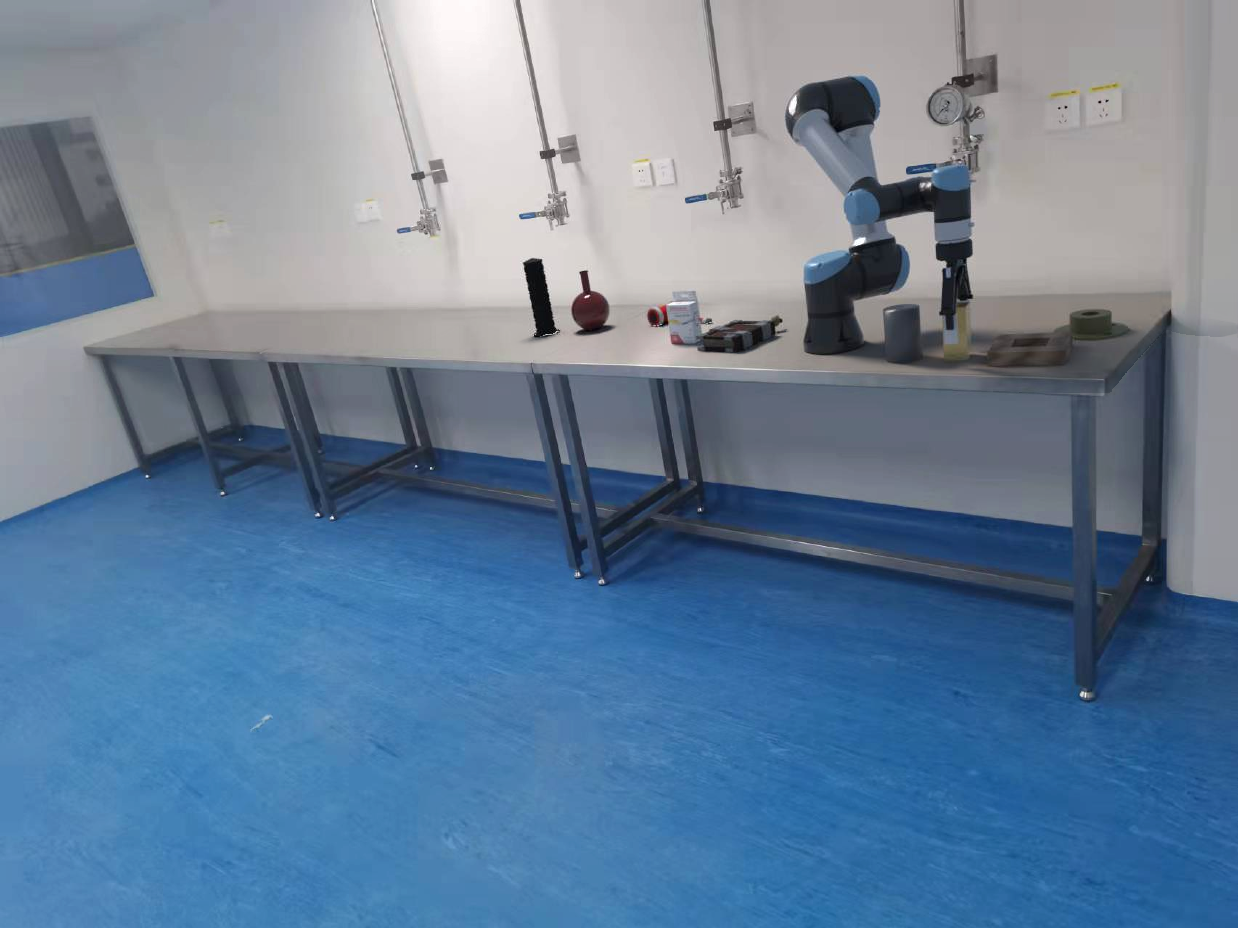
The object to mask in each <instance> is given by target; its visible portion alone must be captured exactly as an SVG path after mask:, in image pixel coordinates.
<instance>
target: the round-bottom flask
mask: <svg viewBox="0 0 1238 928" xmlns="http://www.w3.org/2000/svg"><path fill="white" fill-rule="evenodd" d="M578 274H579V275H580V280H581V287H582V292H581V293H579V294H578V295H577V296H576V297H575V298H574V300H573V301H572V303H571V309H570V311H571V316H572V317H571V318H572V320H573V321H574V323H575V324H576V325H577V326H578V327H580V328H581V329H583V330H587V331H595V330H598V329H600V328H602V327H603V326H604V325H605V324H606V323H607V321H608V320H609V318H610V313H611V309H610V303H609V301H608V300H607V298H606V296H604V294H602V293H601V292H598V291H594V290H592V289H591V283H590V279H589V270H586V269H584V270H580V271H579V272H578ZM594 329H595V330H594Z"/></svg>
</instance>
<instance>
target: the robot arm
mask: <svg viewBox="0 0 1238 928" xmlns="http://www.w3.org/2000/svg"><path fill="white" fill-rule="evenodd" d="M880 108H881V98H880V93H879V91H878V88H877V86H876V85H875V83H874V81H872V80H871V79H869V78H868V77H867V76H865V75H847V76H843V77H840V78H833V79H829V80H823V81H822V80H821V81H818V82H810V83H807V84H805V85H803V86H801V87H800V88H799V89H797V90H796V91H795V92H794V93H793V95H792V96H791V98H789V101H788V103H787V106H786V110H785V114H784V121H785V126H786V127H785V128H786V129H787V133H788V134H789V136H790V138H791V139H792V140H793V142H795V144H796V145H798V146H800V147H804V148H805V150H806V151H807V152H808V153H809V155H810V156H811V157H812V158H813V159H814V161H815V162H816V164H817V165H818V166H819V167H820V168H821V169H822V171H823V172H824V173H825V175H827V178H829V179H830V181H831V182H832V183H833V185H834V186H835V187H836V188H837V190H839V192H840V194H841V195H842V196H843V197H844V200H843V212H844V214H845V218H846V220H847V222H848V223H849V226H850V230H851V238H852V242H851V243H850V244H849V246H848V250H845V249H842V250H841V249H840V250H833V251H830V252H823V253H821V254H819V255H816V256H814V257H812V258H809V260H807V261H806V262H805V264H804V265H803V284H804V294H805V302H806V312H807V323H806V327H805V331H804V335H803V343H802V344H803V351H804V352H806V353H808V354H809V353H810V354H817V355H819V354H821V355H824V354H825V355H826V354H827V355H828V354H839V353H844V352H848V351H851V350H853V351H854V350H857V349H858V348H860V347H862V346H864V343H865V340H864V339H865V338H864V337H865V335H864V333H863V331H862V328H861V326H860V324H859V321H858V319H857V317H856V313H855V312H856V311H855V302H856V301H861V300H865V299H869V298H873V297H878V296H885V295H888V294H890V293H894V292H897V291H899V290H901V289H902V288H903V287H904V286H905V285H906V283H907V281H908V278H909V275H910V271H911V270H910V269H911V260H910V255H909V252H908V251H907V250H906V247H905V246H904V245H902V244H899V243H897V240H896V236H895V235H893V234H892V233H890V232H889V230H888V227H887V221H889V220H892V219H897V218H902V217H908V216H912V215H916V214H922V213H933V228H934V229H933V230H934V241H936V244H935V259H936V260H937V261H939V262H945V264H946V265H945V267H943V268H942V270H941V274H942V275H941V276H942V282H941V283H942V285H941V301H940V303H941V304H940V311H939V312H938V316H941V317H942V315H943V318H944V337H945V344H958V321H957V314H956V305H957V303H961V302H970V300H973V299H974V294H973V293H972V291H971V290H972V289H971V283H970V276H969V271H968V259H969V258H971V257H972V256H973V254H974V252H973V251H974V248H973V247H974V246H973V240H972V239H971V238H970V237H972V235H973V232H972V231H973V230H972V229H973V227H974V226H975V222H974V221H972V198H971V196H972V195H971V192H972V191H971V188H972V187H971V185H972V182H971V178H970V169H969V167H968V165H966V164H963V163H961V164H951V165H945V166H940V167H936V168H934V169H933V170H932V171H931V176H917V177H911V178H908V179H905V180H904V181H902V180H901V181H899V182H897V181H896V182H892V183H887V184H881V183H880V182H879V177H878V174H877V168H876V162H875V158H874V152H873V145H872V141H871V134H872V133H873V131H874V129H875V123H874V122H876V121H877V119H878V118H879V116H880V114H881V113H880V112H881V111H880V110H881V109H880Z"/></svg>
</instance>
